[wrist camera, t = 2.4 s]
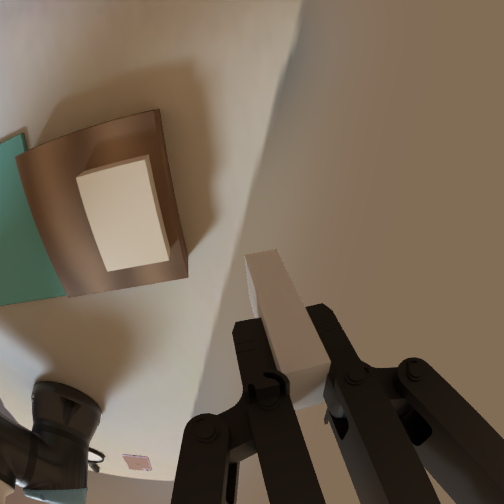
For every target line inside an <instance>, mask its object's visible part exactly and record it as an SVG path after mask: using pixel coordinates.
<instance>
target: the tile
mask: <svg viewBox="0 0 504 504" xmlns="http://www.w3.org/2000/svg"><path fill="white" fill-rule="evenodd" d="M76 180H77V184H78V188H79V191H80V195H81V198H82V201H83V205H84V208H85V211H86V214H87V217H88V220H89V223H90V226H91V229H92V232H93V235H94V238H95V241H96V243H97V246H98V249H99V252H100V254H101V257H102V259H103V262H104V265H105V267H106V270H107V272H109V271H114V270H120V269H125V268H131V267H136V266H142V265H147V264H153V263H158V262H164V261H169V257H170V246H169V242H168V238H167V234H166V230H165V226H164V222H163V218H162V214H161V210H160V205H159V201H158V197H157V192H156V188H155V183H154V178H153V173H152V168H151V164H150V158H149V155H144V156H140V157H135V158H131V159H127V160H123V161H119V162H115V163H111V164H107V165H104V166H100V167H97V168H93V169H89V170H86V171H83V172H82V173H81V174H80V175H79V176H77V177H76Z"/></svg>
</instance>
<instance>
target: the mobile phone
mask: <svg viewBox="0 0 504 504" xmlns="http://www.w3.org/2000/svg"><path fill="white" fill-rule="evenodd" d="M122 457H123V459H124V460H125V462H126V464H127V466H128V468H129V469H133V470H144V471H151V470H152V469H151V466H150V463H149V459H148V457H145V456H135V455H125V454H123V455H122Z"/></svg>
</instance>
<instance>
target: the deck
mask: <svg viewBox="0 0 504 504" xmlns="http://www.w3.org/2000/svg"><path fill="white" fill-rule="evenodd" d="M144 155H149V158H150V164H151V168H152V173H153V178H154V183H155V188H156V192H157V197H158V201H159V205H160V210H161V214H162V218H163V222H164V226H165V230H166V234H167V238H168V242H169V246H170V257H169V261H164V262H158V263H153V264H147V265H142V266H136V267H131V268H125V269H120V270H114V271H109V272H107V270H106V267H105V265H104V262H103V259H102V257H101V254H100V252H99V249H98V246H97V243H96V241H95V238H94V235H93V232H92V229H91V226H90V223H89V220H88V217H87V214H86V211H85V208H84V205H83V201H82V198H81V195H80V191H79V188H78V184H77V180H76V177H77V176H79V175H80V174H81V173H82V172H83V171H86V170H89V169H93V168H97V167H100V166H104V165H107V164H111V163H115V162H119V161H123V160H127V159H131V158H135V157H140V156H144ZM15 160H16V164H17V167H18V171H19V175H20V178H21V182H22V185H23V189H24V192H25V195H26V198H27V201H28V204H29V207H30V210H31V213H32V216H33V219H34V221H35V224H36V227H37V229H38V232H39V235H40V237H41V240H42V242H43V245H44V247H45V249H46V252H47V254H48V256H49V259H50V261H51V263H52V265H53V267H54V270H55V272H56V274H57V276H58V278H59V280H60V282H61V284H62V286H63V288H64V290H65V292H66V294H67V296H68V297H75V296H81V295H87V294H93V293H99V292H106V291H112V290H118V289H124V288H130V287H136V286H142V285H148V284H154V283H159V282H165V281H171V280H177V279H183V278H188V254H187V250H186V246H185V241H184V237H183V233H182V228H181V223H180V219H179V214H178V210H177V205H176V200H175V195H174V190H173V185H172V180H171V175H170V169H169V164H168V158H167V153H166V147H165V141H164V135H163V129H162V122H161V116H160V109H156V110H152V111H147V112H143V113H139V114H135V115H131V116H127V117H123V118H119V119H115V120H112V121H108V122H105V123H101V124H98V125H95V126H92V127H88V128H85V129H82V130H79V131H76V132H73V133H71V134H68V135H65V136H62V137H59V138H57V139H54V140H52V141H49V142H46V143H44V144H41V145H39V146H37V147H34V148H32V149H30V150H28V151H26V152H24V153H21V154H19V155H17V156H15Z"/></svg>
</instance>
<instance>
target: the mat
mask: <svg viewBox="0 0 504 504" xmlns="http://www.w3.org/2000/svg"><path fill="white" fill-rule="evenodd" d="M26 151H27V148H26V143H25V138H24V133H22V134H20V135H17V136H15V137H13V138H11V139H9V140H7V141H5V142H4V143H2V144H0V306H1V305H8V304H15V303H21V302H27V301H34V300H40V299H47V298H53V297H59V296H65V295H67V294H66V292H65V290H64V288H63V286H62V284H61V282H60V280H59V278H58V276H57V274H56V272H55V270H54V267H53V265H52V263H51V261H50V259H49V256H48V254H47V252H46V249H45V247H44V245H43V242H42V240H41V237H40V235H39V232H38V229H37V227H36V224H35V221H34V219H33V216H32V213H31V210H30V207H29V204H28V201H27V198H26V195H25V192H24V189H23V185H22V182H21V178H20V175H19V171H18V167H17V164H16V160H15V156H17V155H19V154H21V153H24V152H26Z"/></svg>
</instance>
